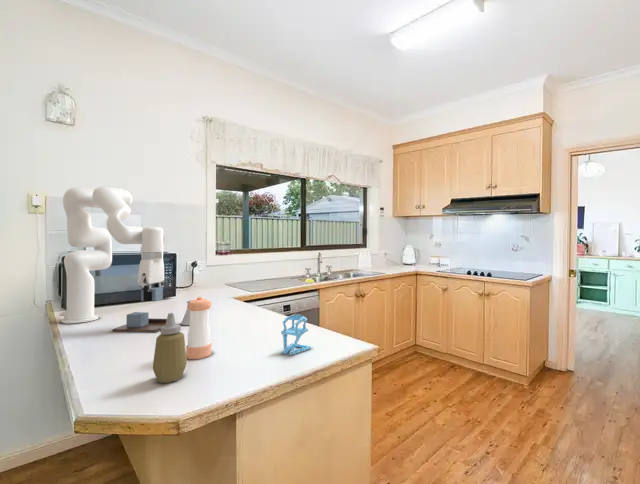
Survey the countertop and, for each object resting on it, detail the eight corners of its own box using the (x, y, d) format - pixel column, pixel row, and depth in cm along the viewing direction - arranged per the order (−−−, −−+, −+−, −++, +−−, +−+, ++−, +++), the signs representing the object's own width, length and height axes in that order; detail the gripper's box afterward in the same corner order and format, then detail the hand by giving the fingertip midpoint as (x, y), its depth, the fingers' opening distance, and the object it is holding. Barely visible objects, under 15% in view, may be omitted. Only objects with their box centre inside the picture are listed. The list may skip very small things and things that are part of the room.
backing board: (112, 331, 136) (112, 325, 136) (134, 323, 148) (134, 318, 148) (155, 332, 135) (156, 326, 135) (174, 324, 147) (174, 318, 147)
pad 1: (126, 326, 139) (126, 314, 139) (134, 323, 144) (134, 312, 144) (140, 327, 139) (140, 314, 139) (148, 324, 144) (148, 312, 144)
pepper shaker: (185, 360, 105) (186, 299, 106) (186, 353, 112) (187, 295, 112) (211, 357, 109) (212, 297, 109) (210, 350, 115) (211, 294, 115)
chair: (277, 353, 113) (277, 317, 113) (292, 345, 121) (292, 312, 121) (296, 356, 110) (297, 319, 110) (310, 348, 118) (311, 314, 118)
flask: (203, 321, 152) (203, 299, 152) (193, 326, 145) (193, 302, 145) (188, 321, 153) (188, 299, 153) (177, 325, 146) (177, 302, 146)
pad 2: (141, 301, 139) (141, 289, 139) (149, 299, 143) (149, 287, 143) (155, 301, 139) (155, 289, 139) (162, 299, 143) (162, 287, 143)
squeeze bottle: (162, 373, 96) (163, 310, 96) (191, 372, 97) (192, 309, 97) (145, 385, 88) (146, 316, 88) (177, 384, 89) (178, 316, 89)
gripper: (157, 255, 150) (157, 296, 150) (128, 257, 133) (127, 303, 133) (173, 255, 149) (173, 296, 149) (146, 257, 133) (146, 303, 132)
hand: (152, 299), depth 141 cm, fingers closed on pad 2, 4 cm apart
